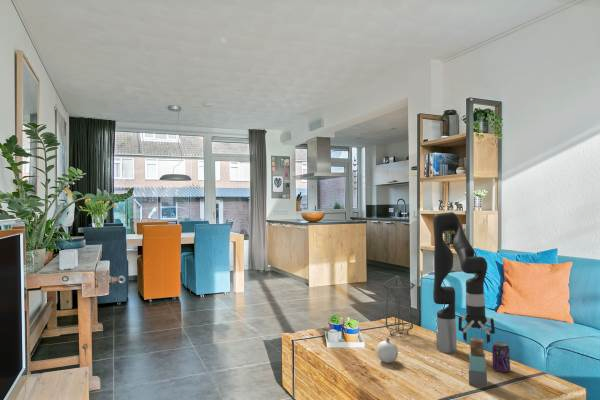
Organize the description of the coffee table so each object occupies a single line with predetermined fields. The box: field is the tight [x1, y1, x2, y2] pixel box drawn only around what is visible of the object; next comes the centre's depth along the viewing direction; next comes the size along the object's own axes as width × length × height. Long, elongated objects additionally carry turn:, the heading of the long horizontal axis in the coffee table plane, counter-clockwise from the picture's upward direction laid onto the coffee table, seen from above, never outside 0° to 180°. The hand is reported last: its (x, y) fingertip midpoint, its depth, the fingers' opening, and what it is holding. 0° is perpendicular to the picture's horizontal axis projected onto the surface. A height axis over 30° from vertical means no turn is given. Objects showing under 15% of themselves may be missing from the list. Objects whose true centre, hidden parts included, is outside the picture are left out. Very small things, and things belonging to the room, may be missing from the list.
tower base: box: [468, 364, 488, 388], centre depth 177 cm, size 7×7×6 cm
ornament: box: [376, 337, 399, 364], centre depth 204 cm, size 10×10×12 cm
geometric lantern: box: [380, 275, 416, 338], centre depth 248 cm, size 16×16×35 cm
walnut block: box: [469, 337, 485, 357], centre depth 177 cm, size 5×5×6 cm
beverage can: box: [491, 341, 511, 373], centre depth 190 cm, size 7×7×12 cm
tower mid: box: [468, 351, 486, 372], centre depth 177 cm, size 6×6×6 cm
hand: (476, 341), depth 177 cm, fingers open, 8 cm apart
